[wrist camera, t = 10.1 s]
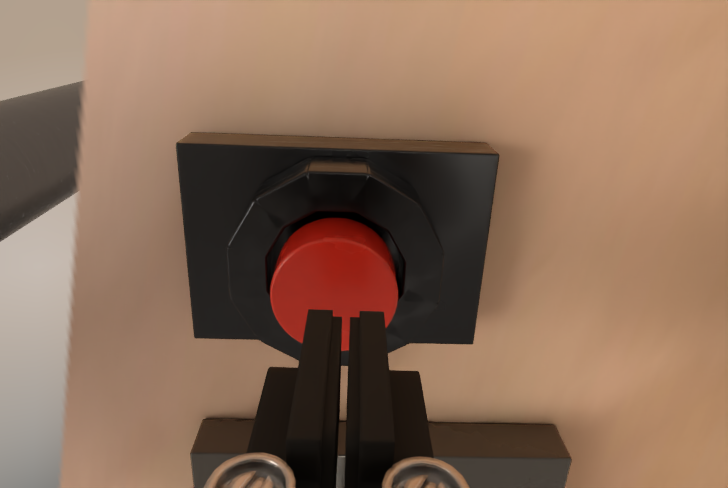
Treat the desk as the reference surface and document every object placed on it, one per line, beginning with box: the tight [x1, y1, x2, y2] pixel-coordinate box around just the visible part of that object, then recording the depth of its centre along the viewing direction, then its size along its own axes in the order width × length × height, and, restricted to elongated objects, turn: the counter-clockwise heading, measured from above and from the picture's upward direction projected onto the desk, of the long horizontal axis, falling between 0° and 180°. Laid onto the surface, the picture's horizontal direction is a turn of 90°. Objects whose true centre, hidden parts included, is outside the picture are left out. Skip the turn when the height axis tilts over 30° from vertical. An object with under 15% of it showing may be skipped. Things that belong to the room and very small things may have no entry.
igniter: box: [176, 132, 499, 366], centre depth 18 cm, size 10×7×4 cm
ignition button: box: [270, 218, 398, 351], centre depth 16 cm, size 4×4×2 cm
